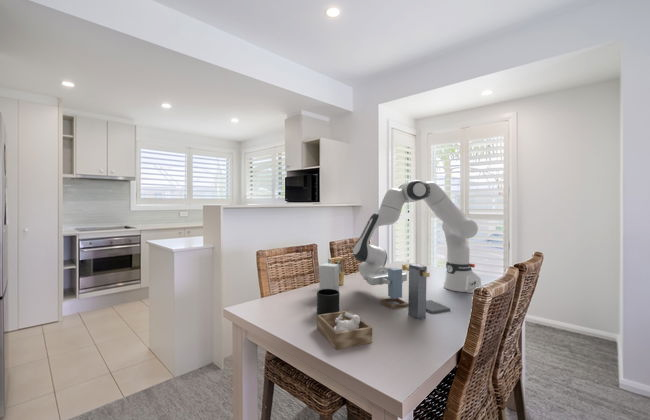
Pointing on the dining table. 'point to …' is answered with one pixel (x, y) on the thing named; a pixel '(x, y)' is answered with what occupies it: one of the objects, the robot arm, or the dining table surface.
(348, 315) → the rabbit figurine
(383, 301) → the socket frame
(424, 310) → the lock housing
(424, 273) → the bolt
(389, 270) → the block
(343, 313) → the display box
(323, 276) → the skincare box
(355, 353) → the dining table surface
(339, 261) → the candy box
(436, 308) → the mat
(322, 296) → the mug
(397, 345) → the dining table surface
